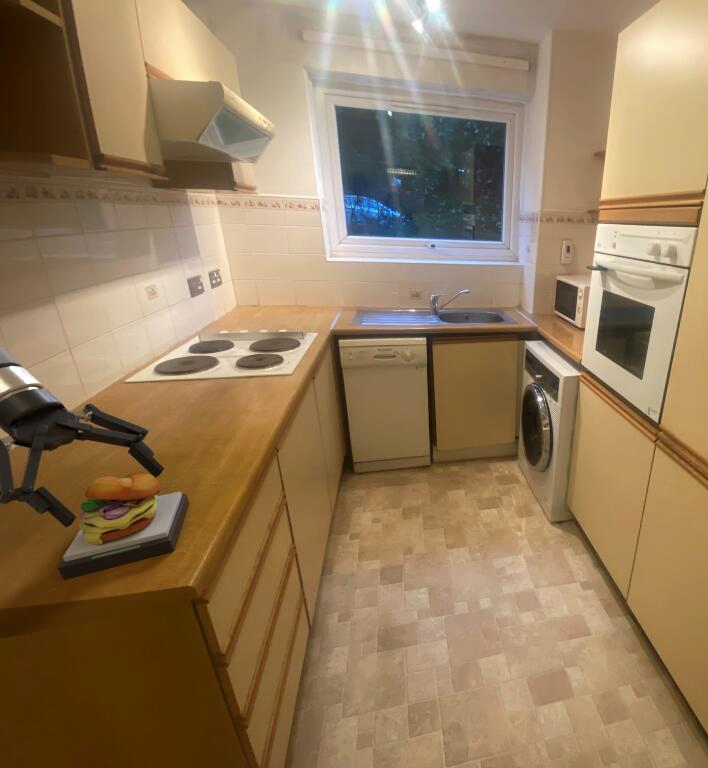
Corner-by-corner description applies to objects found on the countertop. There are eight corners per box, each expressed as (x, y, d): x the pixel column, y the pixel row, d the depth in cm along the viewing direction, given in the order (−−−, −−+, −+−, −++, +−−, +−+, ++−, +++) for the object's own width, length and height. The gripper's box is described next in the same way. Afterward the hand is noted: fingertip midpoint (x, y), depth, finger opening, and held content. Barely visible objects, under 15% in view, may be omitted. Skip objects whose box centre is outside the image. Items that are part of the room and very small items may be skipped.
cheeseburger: (61, 544, 69) (53, 484, 67) (129, 515, 79) (123, 462, 78) (115, 551, 67) (109, 490, 66) (177, 520, 78) (173, 467, 76)
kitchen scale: (63, 579, 67) (55, 563, 66) (96, 524, 78) (89, 508, 77) (173, 551, 72) (168, 535, 71) (189, 503, 84) (184, 488, 83)
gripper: (97, 386, 82) (181, 466, 84) (-104, 452, 60) (18, 559, 62) (109, 363, 79) (196, 447, 81) (-99, 423, 56) (29, 537, 59)
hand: (119, 495), depth 71 cm, fingers open, 13 cm apart
